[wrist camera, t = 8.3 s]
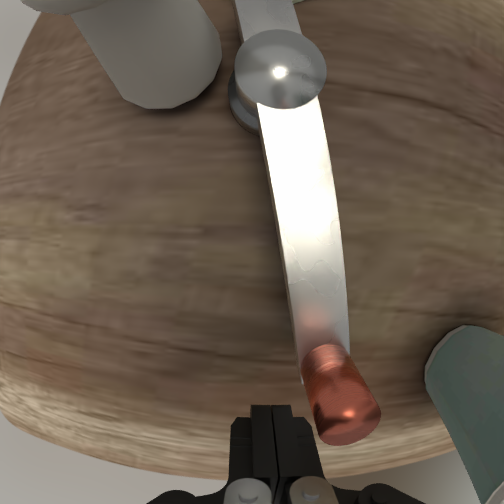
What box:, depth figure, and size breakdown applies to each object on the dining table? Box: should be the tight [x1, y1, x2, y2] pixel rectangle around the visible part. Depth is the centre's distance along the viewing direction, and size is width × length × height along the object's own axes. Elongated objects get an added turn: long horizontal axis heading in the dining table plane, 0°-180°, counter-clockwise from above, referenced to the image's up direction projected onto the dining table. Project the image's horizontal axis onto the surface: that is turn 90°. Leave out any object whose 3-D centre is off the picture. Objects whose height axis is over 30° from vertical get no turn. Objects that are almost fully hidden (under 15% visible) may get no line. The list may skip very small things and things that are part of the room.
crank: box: [232, 0, 381, 446], centre depth 11 cm, size 20×4×7 cm, turn 10°
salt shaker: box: [21, 0, 222, 109], centre depth 8 cm, size 6×6×13 cm
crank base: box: [228, 69, 260, 136], centre depth 14 cm, size 4×4×2 cm
